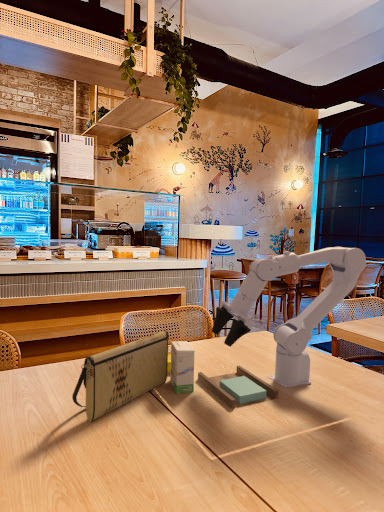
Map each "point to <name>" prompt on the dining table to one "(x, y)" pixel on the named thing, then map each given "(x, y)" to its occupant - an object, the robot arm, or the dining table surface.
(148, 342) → the clutch purse
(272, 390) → the walnut tray
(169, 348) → the element tile
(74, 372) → the dining table surface
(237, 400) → the teal plate
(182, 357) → the ink box
